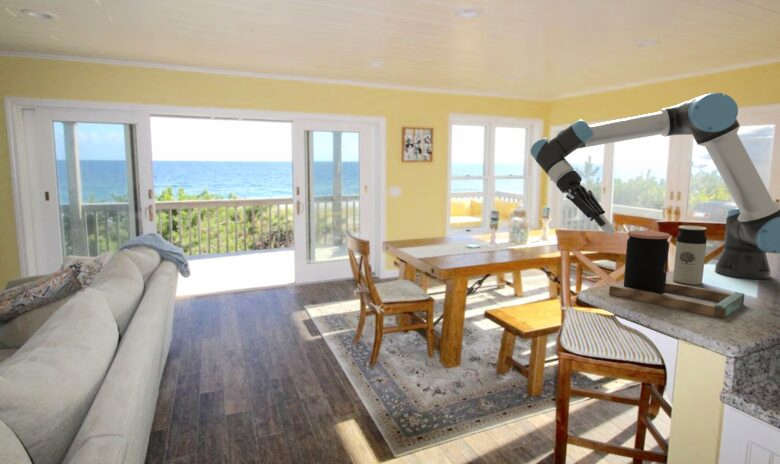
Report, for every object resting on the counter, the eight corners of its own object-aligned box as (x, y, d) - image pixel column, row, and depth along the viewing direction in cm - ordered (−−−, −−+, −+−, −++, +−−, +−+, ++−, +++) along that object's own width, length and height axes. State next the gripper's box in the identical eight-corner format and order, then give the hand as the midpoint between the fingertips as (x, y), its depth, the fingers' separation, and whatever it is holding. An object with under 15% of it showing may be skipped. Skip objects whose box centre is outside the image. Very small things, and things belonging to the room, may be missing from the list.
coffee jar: (670, 299, 127) (676, 236, 124) (629, 297, 129) (634, 235, 127) (656, 289, 137) (661, 231, 135) (618, 287, 140) (623, 230, 137)
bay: (609, 294, 132) (609, 284, 132) (634, 283, 144) (635, 274, 143) (723, 318, 111) (724, 306, 110) (743, 304, 122) (744, 293, 122)
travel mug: (680, 277, 151) (685, 224, 149) (706, 283, 145) (712, 227, 142) (667, 280, 147) (672, 226, 145) (694, 286, 141) (700, 229, 138)
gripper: (567, 184, 155) (612, 238, 145) (546, 185, 147) (592, 242, 137) (583, 169, 150) (630, 223, 140) (562, 169, 142) (611, 227, 132)
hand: (612, 233), depth 139 cm, fingers closed
